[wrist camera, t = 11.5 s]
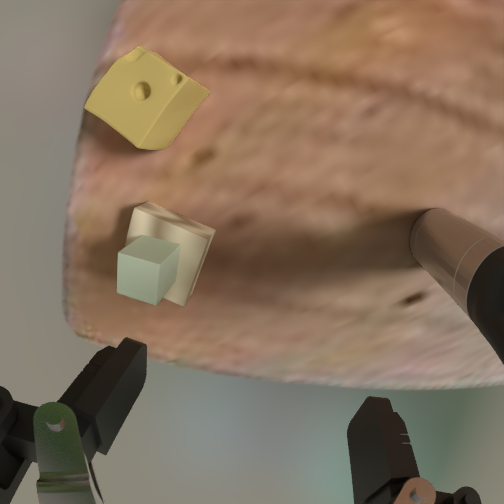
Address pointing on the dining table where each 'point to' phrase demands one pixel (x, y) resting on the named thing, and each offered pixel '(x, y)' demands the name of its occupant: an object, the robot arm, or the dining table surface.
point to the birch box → (177, 231)
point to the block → (147, 269)
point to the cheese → (146, 99)
